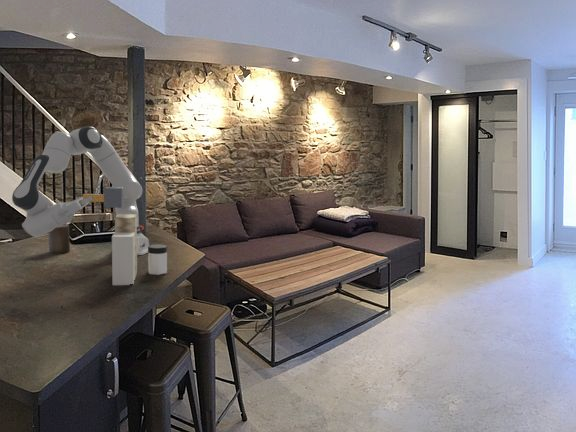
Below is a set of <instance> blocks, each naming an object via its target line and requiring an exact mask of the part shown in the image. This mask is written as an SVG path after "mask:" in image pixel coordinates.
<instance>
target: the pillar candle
mask: <svg viewBox="0 0 576 432" xmlns="http://www.w3.org/2000/svg"><path fill="white" fill-rule="evenodd" d="M70 242H71V241H70V225H69V224H64V225H62V226H59V227H56V228H55V229H54V230H52V231H50V232H49V233H48V250H49V251H48V252H49V253H50V254H57V255H58V254H67V253H70V252H71V250H70V249H71V246H70V245H71V244H70Z"/></svg>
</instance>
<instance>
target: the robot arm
mask: <svg viewBox="0 0 576 432" xmlns="http://www.w3.org/2000/svg"><path fill="white" fill-rule="evenodd" d="M87 152H88V153H89V154H90V155H91V157H92V158H93V160H94V162H95V164H96V165H97V166H98V168H99V169H100V171H101V172H102V174H103V175H104V177H105V178H106V179H107V180H108V181H109V182H110V184H111V187H123V207H122V208H114V209H115V217H116V216H117V214H135V215H137V256H144V255H145V254H148V246H150V241H149V239H148V237H146V236H145V235H144V234H143V233H142V231H143V230H144V229H145V228H144V226H143V225H139V209H138V206H137V205H138V204H137V200H138V199H139V198H141V197H142V194H143V187H142V185H141V184H140V182H139V181H138V180H137V178H136V177H135V175H134V174H133V173H132V172H131V170H130V169H129V168H128V167H127V166H126V164H125V163H124V161H123V160H122V158H121V157H120V155H119V153H118V152H117V151H116V149H115V148H114V146H113V144H111V142H110V141H109V140H108V139H107V137H105V136H104V135H103V134H101V133H100V131H99V130H97V128H95V127H93V126H90V125H89V126H83V127H81V128H77V129H74V130H72V131H70V132H69V133H67V132H64V131H56V132H54V133H52V134H51V135H50V138H49V139H48V141H47V142H46V145H45V146H44V149H43V151H42V154H39V155H37V156H36V157H35V158H34V159H33V160H32V162H31V164H30V165H29V168H28V170H27V171H26V172H25V174H24V176H23V178H22V180H21V181H20V184H18V185H17V187H16V188H15V189H14V190H13V193H12V197H11V199H12V203H13V204H14V206H16V207H18V208H20V209H21V210H22V211H25V213H26V217H25V219H24V222H22V223H21V227H22V229H23V230H24V232H25V233H26V234H27V235H29V236H30V237H32V238H39V237H41V236H42V237H43V236H44V235H46V234H47V233H48V234H49V232H50V231H52V230H54V229H55V228H56V227H59V226H62V225H64V224H65V225H67V223H70V222H72V220H73V217H74V216H75V215H76V213H77V212H79V211H80V210H82V209H83V208H84V207H86V206H87V205H89V203H91V202H90V201H91V200H93V197H92V196H90V197H88V198H85V199H83V196H81V197H79V198H77V199H73V200H71V201H68V202H66V201H65V202H64V201H59V202H58V203H55V204H54V203H53V202H52V201H51V200H50V198H48V196H46V195H44V194H43V193H42V192H41V191H40V190H39V184H40V182H41V180H42V178H43V176H44V174H45V173H50V174H58V173H62V172H64V171H66V169H67V167H68V165H69V163H70V160H71V157H75V156H78V155H83V154H85V153H87ZM141 230H142V231H141Z"/></svg>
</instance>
